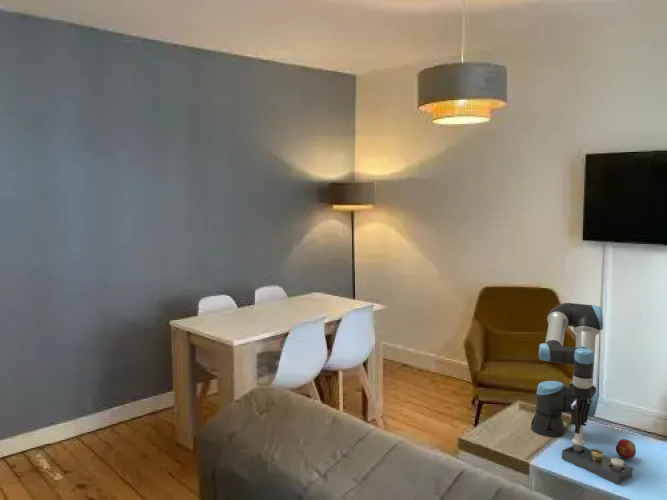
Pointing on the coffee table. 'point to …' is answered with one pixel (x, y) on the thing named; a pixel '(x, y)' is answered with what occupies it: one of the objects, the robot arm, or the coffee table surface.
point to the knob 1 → (577, 445)
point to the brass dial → (596, 455)
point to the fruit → (626, 449)
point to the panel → (597, 465)
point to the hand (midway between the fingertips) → (578, 439)
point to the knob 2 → (617, 463)
